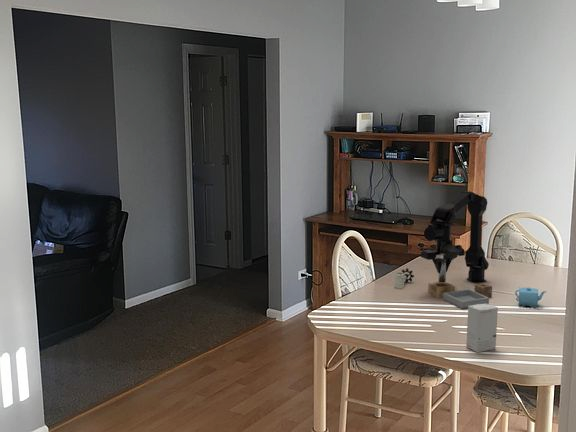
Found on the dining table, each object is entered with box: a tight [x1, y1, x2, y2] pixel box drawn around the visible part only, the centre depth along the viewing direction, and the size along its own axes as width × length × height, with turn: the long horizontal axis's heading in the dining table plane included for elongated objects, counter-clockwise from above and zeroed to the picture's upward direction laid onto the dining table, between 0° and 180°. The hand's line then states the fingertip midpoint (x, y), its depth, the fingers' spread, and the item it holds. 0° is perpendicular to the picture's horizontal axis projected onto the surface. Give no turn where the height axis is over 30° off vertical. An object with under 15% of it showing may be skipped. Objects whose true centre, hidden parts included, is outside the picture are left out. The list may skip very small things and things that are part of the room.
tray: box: [442, 288, 490, 310], centre depth 263 cm, size 13×13×3 cm
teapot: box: [514, 286, 548, 309], centre depth 258 cm, size 12×6×8 cm, turn 70°
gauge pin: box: [437, 257, 447, 283], centre depth 273 cm, size 3×3×10 cm
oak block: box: [427, 281, 456, 298], centre depth 274 cm, size 8×8×4 cm
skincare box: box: [465, 303, 499, 353], centre depth 215 cm, size 8×6×15 cm
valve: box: [394, 268, 415, 290], centre depth 287 cm, size 7×7×12 cm
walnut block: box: [474, 282, 493, 299], centre depth 270 cm, size 5×5×5 cm
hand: (442, 272), depth 273 cm, fingers closed on gauge pin, 3 cm apart
